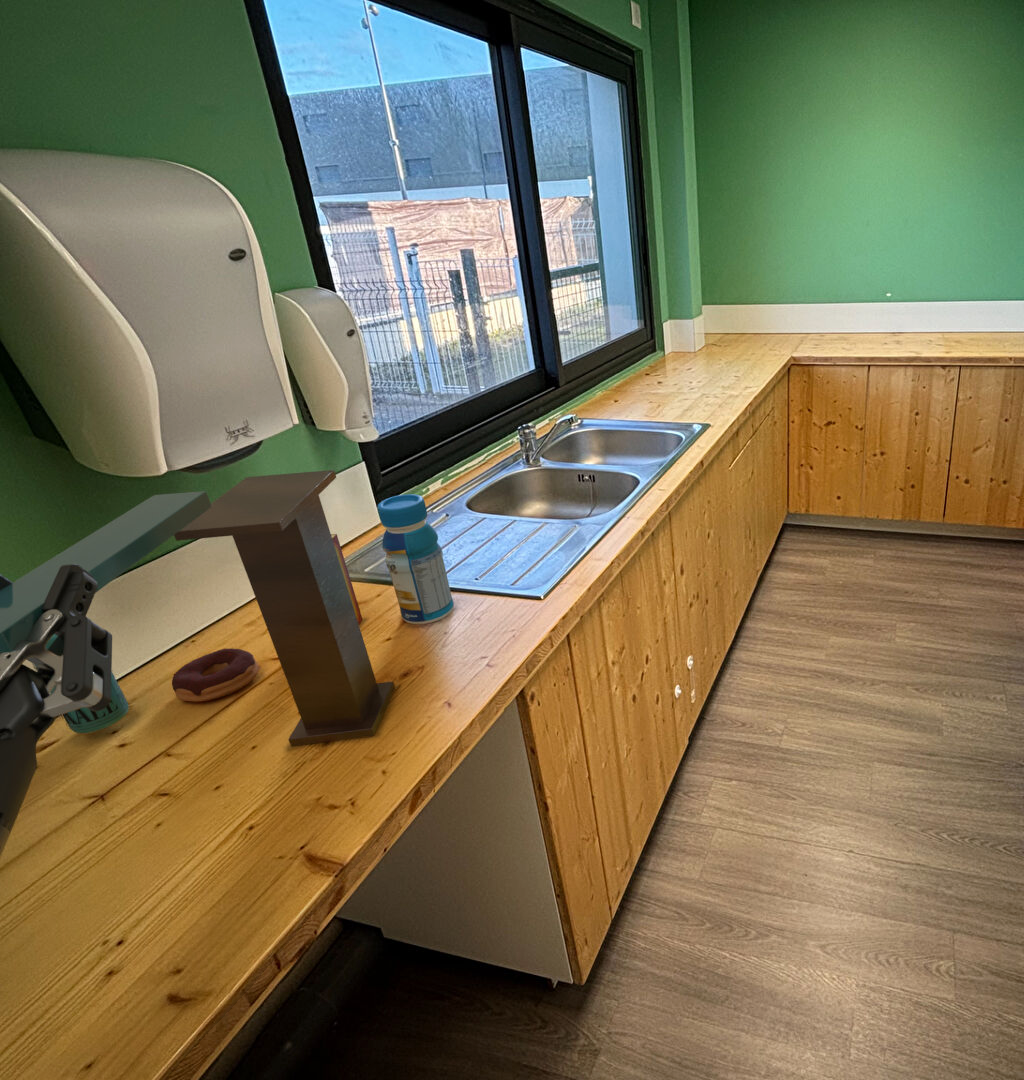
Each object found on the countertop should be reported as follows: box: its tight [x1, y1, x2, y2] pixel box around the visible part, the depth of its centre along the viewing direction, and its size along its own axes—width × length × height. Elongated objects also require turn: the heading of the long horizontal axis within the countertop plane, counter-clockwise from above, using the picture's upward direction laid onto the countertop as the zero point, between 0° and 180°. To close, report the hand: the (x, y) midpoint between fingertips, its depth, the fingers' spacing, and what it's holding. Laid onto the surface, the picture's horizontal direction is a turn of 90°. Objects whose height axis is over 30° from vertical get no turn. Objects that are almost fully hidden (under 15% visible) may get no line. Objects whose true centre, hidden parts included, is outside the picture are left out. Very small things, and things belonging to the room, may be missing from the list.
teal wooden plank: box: [0, 490, 212, 653], centre depth 53 cm, size 24×4×2 cm, turn 8°
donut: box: [171, 648, 260, 703], centre depth 99 cm, size 10×10×4 cm
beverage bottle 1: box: [32, 634, 130, 734], centre depth 88 cm, size 6×7×20 cm
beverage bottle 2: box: [377, 493, 455, 625], centre depth 112 cm, size 8×8×20 cm
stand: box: [173, 469, 396, 747], centre depth 84 cm, size 16×10×32 cm, turn 8°
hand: (39, 575), depth 48 cm, fingers closed on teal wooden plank, 4 cm apart
